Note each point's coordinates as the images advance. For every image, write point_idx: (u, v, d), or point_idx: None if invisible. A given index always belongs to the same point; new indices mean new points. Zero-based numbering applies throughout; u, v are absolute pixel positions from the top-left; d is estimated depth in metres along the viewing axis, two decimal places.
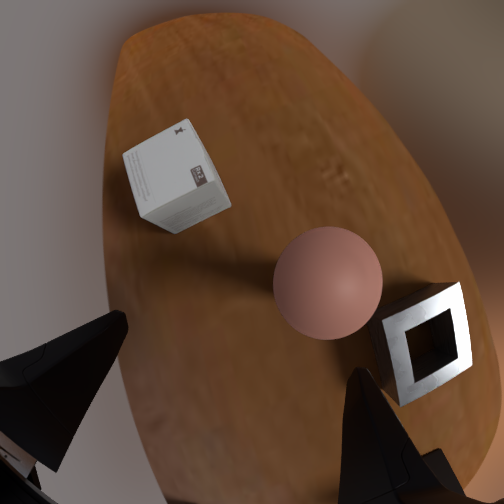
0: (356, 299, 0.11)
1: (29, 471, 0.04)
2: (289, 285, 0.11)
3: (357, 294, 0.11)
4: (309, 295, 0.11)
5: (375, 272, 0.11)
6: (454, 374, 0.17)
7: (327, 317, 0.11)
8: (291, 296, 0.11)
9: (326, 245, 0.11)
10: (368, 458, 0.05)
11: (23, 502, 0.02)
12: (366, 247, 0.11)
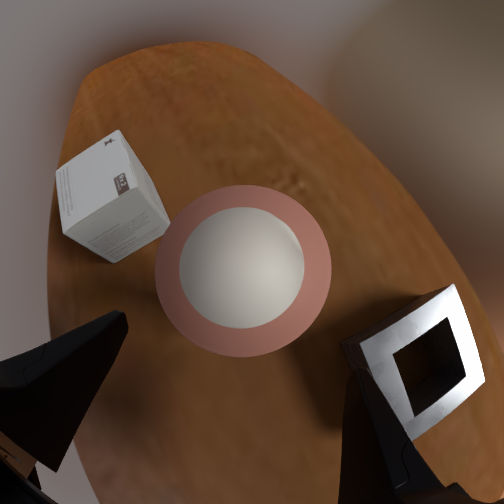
0: (287, 287, 0.07)
1: (29, 471, 0.04)
2: (177, 271, 0.07)
3: (288, 279, 0.07)
4: (207, 284, 0.07)
5: (316, 242, 0.07)
6: (464, 396, 0.12)
7: (240, 319, 0.07)
8: (180, 288, 0.07)
9: (232, 210, 0.07)
10: (368, 458, 0.05)
11: (23, 502, 0.02)
12: (296, 207, 0.07)
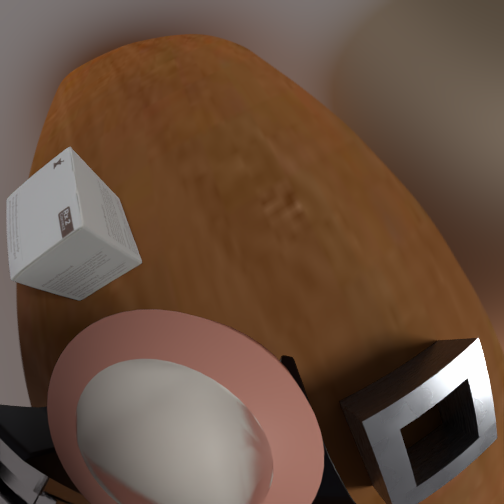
0: (242, 498, 0.03)
1: None
2: (75, 443, 0.03)
3: (244, 489, 0.03)
4: (117, 473, 0.03)
5: (299, 436, 0.03)
6: (474, 457, 0.08)
7: None
8: (84, 465, 0.03)
9: (140, 363, 0.03)
10: None
11: (23, 502, 0.02)
12: (265, 368, 0.03)
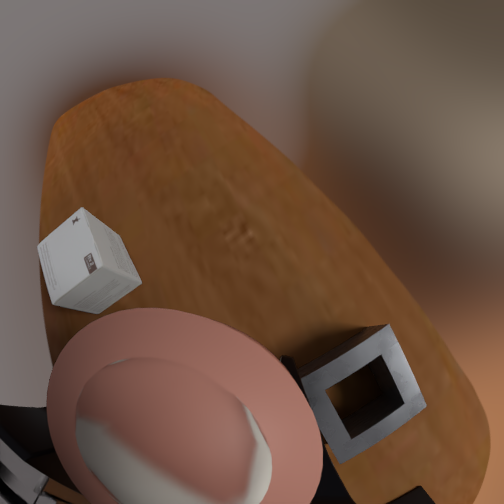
0: (241, 497, 0.03)
1: None
2: (75, 442, 0.03)
3: (242, 488, 0.03)
4: (116, 472, 0.03)
5: (298, 435, 0.03)
6: (404, 420, 0.15)
7: None
8: (83, 464, 0.03)
9: (139, 361, 0.03)
10: None
11: (23, 502, 0.02)
12: (263, 367, 0.03)
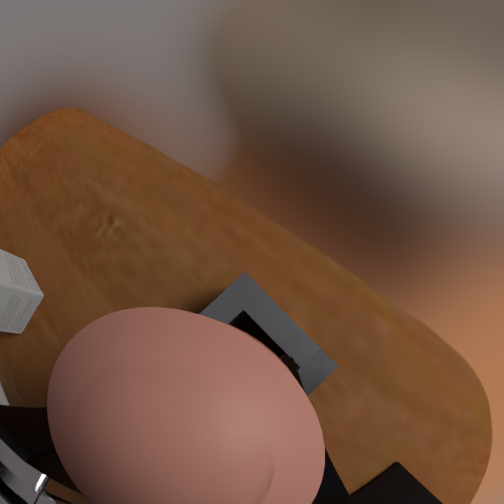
0: (242, 497, 0.03)
1: None
2: (75, 441, 0.03)
3: (244, 488, 0.03)
4: (117, 472, 0.03)
5: (300, 434, 0.03)
6: (308, 389, 0.14)
7: None
8: (84, 464, 0.03)
9: (141, 361, 0.03)
10: None
11: (23, 502, 0.02)
12: (265, 366, 0.03)
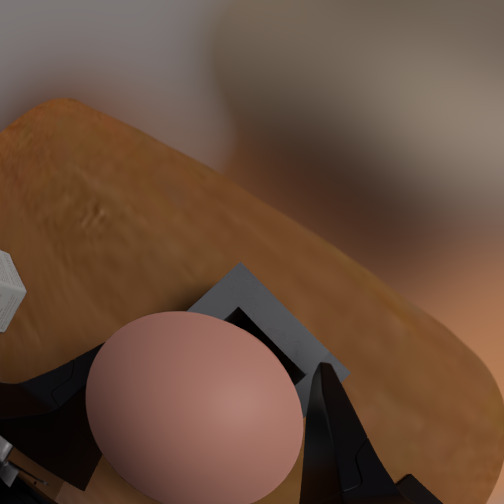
0: (242, 456, 0.04)
1: (56, 493, 0.04)
2: (110, 418, 0.04)
3: (243, 448, 0.04)
4: (144, 441, 0.04)
5: (284, 405, 0.04)
6: None
7: (184, 480, 0.04)
8: (115, 437, 0.04)
9: (168, 351, 0.05)
10: (323, 457, 0.06)
11: (23, 502, 0.02)
12: (259, 353, 0.05)
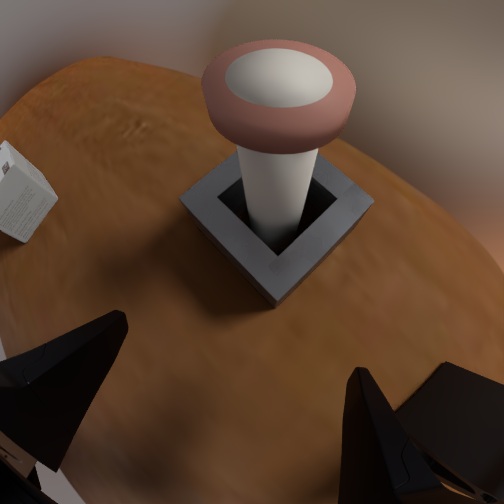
0: (321, 86, 0.07)
1: (29, 471, 0.04)
2: (223, 78, 0.07)
3: (320, 82, 0.07)
4: (250, 84, 0.07)
5: (339, 67, 0.07)
6: (349, 221, 0.14)
7: (281, 102, 0.06)
8: (226, 86, 0.07)
9: (269, 49, 0.07)
10: (368, 458, 0.05)
11: (23, 502, 0.02)
12: (320, 50, 0.07)
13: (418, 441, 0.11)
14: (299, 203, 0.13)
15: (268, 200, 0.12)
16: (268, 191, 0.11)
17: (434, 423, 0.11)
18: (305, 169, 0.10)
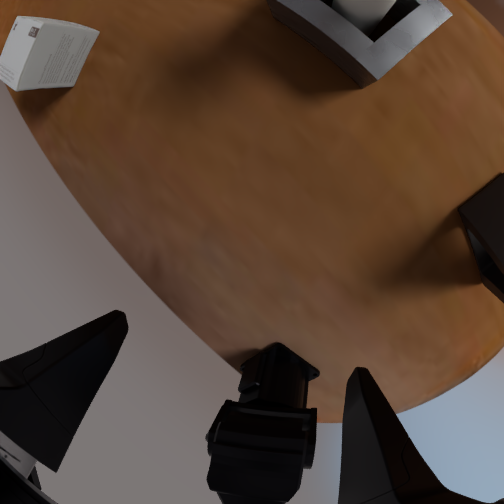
0: None
1: (29, 471, 0.04)
2: None
3: None
4: None
5: None
6: (432, 25, 0.08)
7: None
8: None
9: None
10: (368, 458, 0.05)
11: (23, 502, 0.02)
12: None
13: (482, 237, 0.14)
14: (393, 2, 0.07)
15: None
16: None
17: (495, 225, 0.14)
18: None
